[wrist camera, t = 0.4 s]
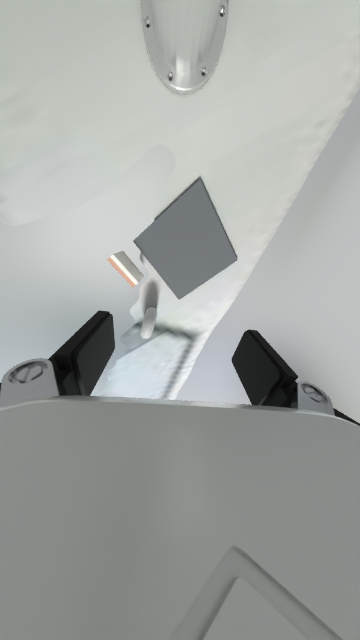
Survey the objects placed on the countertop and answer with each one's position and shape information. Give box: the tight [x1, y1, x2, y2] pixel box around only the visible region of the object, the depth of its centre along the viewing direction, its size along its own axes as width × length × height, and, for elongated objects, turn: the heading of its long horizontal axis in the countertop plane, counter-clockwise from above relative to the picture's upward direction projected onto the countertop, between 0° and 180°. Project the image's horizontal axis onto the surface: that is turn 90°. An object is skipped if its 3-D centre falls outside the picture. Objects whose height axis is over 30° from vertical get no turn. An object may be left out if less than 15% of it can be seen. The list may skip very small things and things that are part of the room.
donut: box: [140, 307, 157, 339], centre depth 43 cm, size 10×4×10 cm, turn 161°
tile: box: [108, 251, 144, 287], centre depth 36 cm, size 8×2×7 cm, turn 36°
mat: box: [133, 179, 237, 300], centre depth 38 cm, size 20×20×1 cm
